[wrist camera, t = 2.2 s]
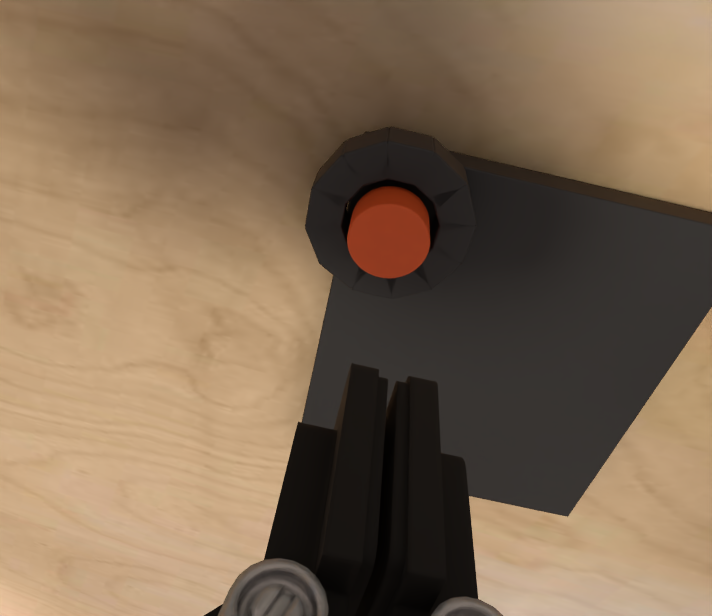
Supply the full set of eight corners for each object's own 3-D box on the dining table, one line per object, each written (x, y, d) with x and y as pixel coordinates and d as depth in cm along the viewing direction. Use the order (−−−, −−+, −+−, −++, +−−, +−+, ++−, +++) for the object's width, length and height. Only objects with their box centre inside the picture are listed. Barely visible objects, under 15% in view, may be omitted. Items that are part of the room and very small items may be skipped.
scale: (334, 100, 19) (322, 124, 17) (753, 200, 20) (801, 238, 17) (274, 433, 29) (261, 480, 26) (562, 494, 29) (575, 546, 27)
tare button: (360, 176, 18) (356, 195, 17) (439, 195, 18) (440, 214, 17) (344, 247, 19) (339, 269, 18) (417, 263, 20) (417, 286, 18)
